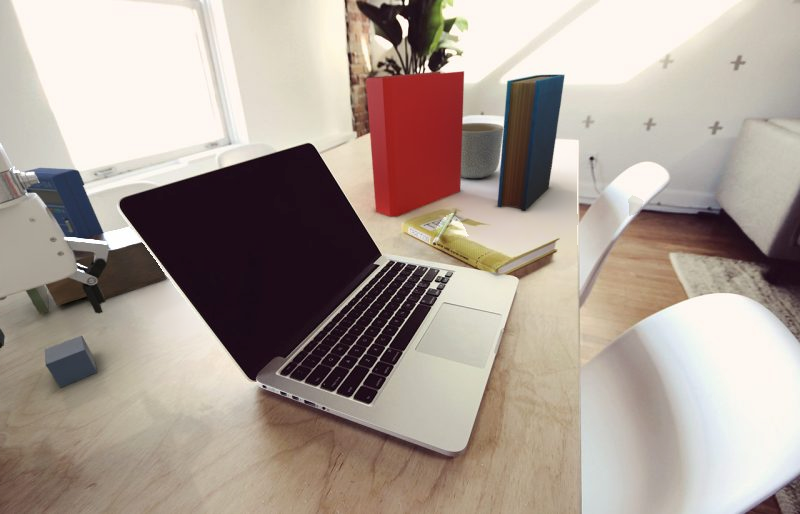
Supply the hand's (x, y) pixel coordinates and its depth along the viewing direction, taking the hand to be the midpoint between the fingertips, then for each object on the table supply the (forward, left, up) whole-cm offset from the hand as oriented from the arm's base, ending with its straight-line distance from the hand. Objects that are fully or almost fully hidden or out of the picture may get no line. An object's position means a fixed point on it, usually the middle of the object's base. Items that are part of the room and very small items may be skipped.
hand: (52, 325), depth 48 cm
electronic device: (+5, +37, -8) cm, 38 cm away
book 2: (+102, -2, -8) cm, 102 cm away
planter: (+109, +21, -8) cm, 111 cm away
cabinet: (+9, +25, -8) cm, 28 cm away
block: (0, 0, -8) cm, 8 cm away
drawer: (0, +25, -7) cm, 26 cm away
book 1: (+79, +16, -8) cm, 81 cm away
